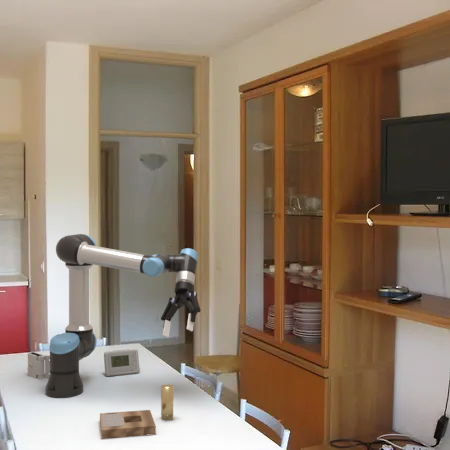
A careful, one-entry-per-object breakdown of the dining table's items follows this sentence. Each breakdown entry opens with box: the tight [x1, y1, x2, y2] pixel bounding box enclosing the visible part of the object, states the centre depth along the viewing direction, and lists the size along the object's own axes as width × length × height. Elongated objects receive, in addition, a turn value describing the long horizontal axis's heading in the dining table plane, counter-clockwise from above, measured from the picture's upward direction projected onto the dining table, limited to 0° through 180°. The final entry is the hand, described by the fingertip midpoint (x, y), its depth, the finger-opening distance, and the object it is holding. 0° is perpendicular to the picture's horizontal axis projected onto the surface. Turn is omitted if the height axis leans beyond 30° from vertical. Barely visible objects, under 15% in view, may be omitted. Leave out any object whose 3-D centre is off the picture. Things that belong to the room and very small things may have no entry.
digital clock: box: [103, 348, 140, 377], centre depth 273 cm, size 16×9×11 cm, turn 103°
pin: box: [160, 383, 174, 422], centre depth 217 cm, size 4×4×12 cm
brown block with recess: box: [99, 409, 157, 440], centre depth 207 cm, size 18×16×3 cm
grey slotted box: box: [27, 351, 50, 380], centre depth 267 cm, size 14×5×10 cm, turn 59°
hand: (177, 333), depth 231 cm, fingers open, 13 cm apart
